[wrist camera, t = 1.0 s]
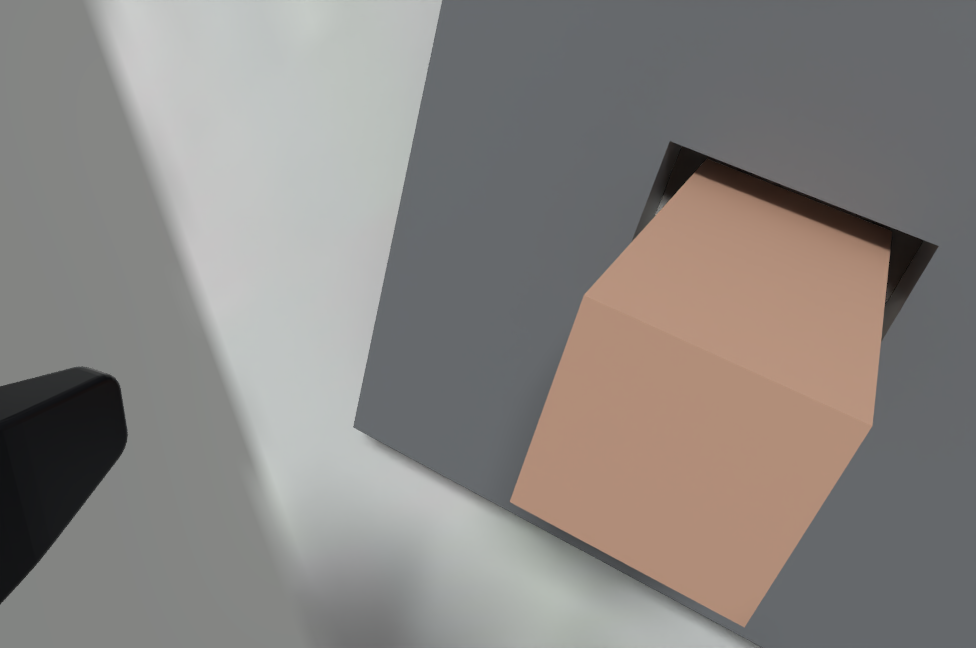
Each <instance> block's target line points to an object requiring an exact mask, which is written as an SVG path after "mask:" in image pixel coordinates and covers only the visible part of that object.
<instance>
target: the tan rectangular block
mask: <svg viewBox="0 0 976 648" xmlns="http://www.w3.org/2000/svg"><path fill="white" fill-rule="evenodd" d="M891 238H892V231H891V230H888V229H885V228H883V227H880V226H878V225H875V224H873V223H870V222H868V221H865V220H862V219H860V218H857V217H855V216H852V215H850V214H847V213H845V212H842V211H840V210H837V209H834V208H832V207H829V206H827V205H824V204H822V203H819V202H817V201H814V200H811V199H809V198H806V197H804V196H801V195H799V194H796V193H794V192H791V191H788V190H786V189H783V188H781V187H778V186H776V185H773V184H771V183H768V182H765V181H763V180H760V179H758V178H755V177H753V176H750V175H748V174H745V173H742V172H740V171H737V170H735V169H732V168H730V167H727V166H725V165H722V164H719V163H717V162H714V161H712V160H709V159H706V160H705V161H704V162H703V164H702V165H701V166H700V167H699V168H698V169H697V170H696V171H695V172H694V174H693V175H692V176H691V177H690V178H689V179H688V180H687V181H686V182H685V184H684V185H683V186H682V187H681V188H680V189H679V190H678V191H677V192H676V194H675V195H674V196H673V197H672V198H671V199H670V200H669V201H668V202H667V203H666V205H665V206H664V207H663V208H662V209H661V210H660V211H659V212H658V213H657V215H656V216H655V217H654V218H653V219H652V220H651V221H650V222H649V223H648V225H647V226H646V227H645V228H644V229H643V230H642V231H641V232H640V233H639V235H638V236H637V237H636V238H635V239H634V240H633V241H632V242H631V243H630V244H629V246H628V247H627V248H626V249H625V250H624V251H623V252H622V253H621V254H620V256H619V257H618V258H617V259H616V260H615V261H614V262H613V263H612V264H611V266H610V267H609V268H608V269H607V270H606V271H605V272H604V273H603V274H602V276H601V277H600V278H599V279H598V280H597V281H596V282H595V283H594V284H593V286H592V287H591V288H590V289H589V290H588V291H587V292H586V293H585V294H584V296H583V299H582V302H581V304H580V307H579V310H578V313H577V316H576V318H575V321H574V324H573V327H572V329H571V332H570V335H569V338H568V341H567V343H566V346H565V349H564V352H563V355H562V357H561V360H560V363H559V366H558V368H557V371H556V374H555V377H554V380H553V382H552V385H551V388H550V391H549V394H548V396H547V399H546V402H545V405H544V407H543V410H542V413H541V416H540V419H539V421H538V424H537V427H536V430H535V433H534V435H533V438H532V441H531V444H530V446H529V449H528V452H527V455H526V458H525V460H524V463H523V466H522V469H521V471H520V474H519V477H518V480H517V483H516V485H515V488H514V491H513V494H512V497H511V499H510V502H511V503H513V504H514V505H516V506H518V507H520V508H522V509H524V510H526V511H528V512H529V513H531V514H533V515H535V516H537V517H539V518H541V519H543V520H544V521H546V522H548V523H550V524H552V525H554V526H556V527H557V528H559V529H561V530H563V531H565V532H567V533H569V534H571V535H572V536H574V537H576V538H578V539H580V540H582V541H584V542H586V543H587V544H589V545H591V546H593V547H595V548H597V549H599V550H600V551H602V552H604V553H606V554H608V555H610V556H612V557H614V558H615V559H617V560H619V561H621V562H623V563H625V564H627V565H628V566H630V567H632V568H634V569H636V570H638V571H640V572H642V573H643V574H645V575H647V576H649V577H651V578H653V579H655V580H657V581H658V582H660V583H662V584H664V585H666V586H668V587H670V588H671V589H673V590H675V591H677V592H679V593H681V594H683V595H685V596H686V597H688V598H690V599H692V600H694V601H696V602H698V603H700V604H701V605H703V606H705V607H707V608H709V609H711V610H713V611H714V612H716V613H718V614H720V615H722V616H724V617H726V618H728V619H729V620H731V621H733V622H735V623H737V624H739V625H741V626H743V627H745V626H746V624H747V623H748V621H749V620H750V618H751V616H752V615H753V613H754V612H755V610H756V608H757V607H758V605H759V604H760V602H761V601H762V599H763V597H764V596H765V594H766V593H767V591H768V590H769V588H770V586H771V585H772V583H773V582H774V580H775V579H776V577H777V575H778V574H779V572H780V571H781V569H782V568H783V566H784V564H785V563H786V561H787V560H788V558H789V557H790V555H791V553H792V552H793V550H794V549H795V547H796V545H797V544H798V542H799V541H800V539H801V538H802V536H803V534H804V533H805V531H806V530H807V528H808V527H809V525H810V523H811V522H812V520H813V519H814V517H815V516H816V514H817V512H818V511H819V509H820V508H821V506H822V505H823V503H824V501H825V500H826V498H827V497H828V495H829V494H830V492H831V490H832V489H833V487H834V486H835V484H836V482H837V481H838V479H839V478H840V476H841V475H842V473H843V471H844V470H845V468H846V467H847V465H848V464H849V462H850V460H851V459H852V457H853V456H854V454H855V453H856V451H857V449H858V448H859V446H860V445H861V443H862V442H863V440H864V438H865V437H866V435H867V434H868V432H869V431H870V429H871V427H872V426H873V416H874V406H875V396H876V386H877V376H878V366H879V357H880V347H881V337H882V327H883V317H884V307H885V298H886V288H887V278H888V268H889V258H890V248H891Z"/></svg>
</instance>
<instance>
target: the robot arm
mask: <svg viewBox="0 0 976 648" xmlns="http://www.w3.org/2000/svg"><path fill="white" fill-rule="evenodd" d="M127 433H128V432H127V426H126V419H125V413H124V406H123V400H122V394H121V388H120V385H119V383H118V381H117V380H116V378H115V377H113V376H112V375H110V374H107V373H103V372H101V371H98V370H95V369H92V368H89V367H74V368H70V369H66V370H63V371H59V372H55V373H51V374H47V375H43V376H39V377H35V378H32V379H27V380H24V381H20V382H16V383H12V384H8V385H4V386H0V604H1V603H2V602H3V601H4V600H5V599H6V598H7V596H8V595H9V594H10V593H11V592H12V591H13V590H14V589H15V588H16V587H17V586H18V585H19V584H20V582H21V581H22V580H23V579H24V578H25V577H26V576H27V575H28V573H29V572H30V571H31V570H32V569H33V568H34V567H35V566H36V564H37V563H38V562H39V561H40V560H41V558H42V557H43V556H44V555H45V553H46V552H47V550H49V548H50V547H51V546H52V544H53V543H54V542H55V541H56V539H57V538H58V537H59V536H60V534H61V533H62V532H63V530H64V529H65V528H66V526H67V525H68V524H69V522H70V521H71V520H72V518H73V517H74V516H75V515H76V513H77V512H78V511H79V509H80V508H81V507H82V506H83V504H84V503H85V502H86V500H87V499H88V498H89V496H90V495H91V494H92V492H93V491H94V490H95V489H96V487H97V486H98V485H99V483H100V482H101V481H102V480H103V478H104V477H105V476H106V474H107V473H108V472H109V470H110V469H111V467H112V466H113V465H114V464H115V463H116V461H117V460H118V459H119V457H120V456H121V454H122V452H123V450H124V448H125V446H126V443H127V436H128V434H127Z"/></svg>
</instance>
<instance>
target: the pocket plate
mask: <svg viewBox="0 0 976 648" xmlns="http://www.w3.org/2000/svg"><path fill="white" fill-rule="evenodd" d="M681 146H684V147H686V148H689V149H692V150H694V151H697V152H699V153H702V154H704V155H707V156H709V157H712V158H715V159H717V160H720V161H722V162H725V163H727V164H730V165H733V166H735V167H738V168H740V169H743V170H745V171H748V172H750V173H753V174H756V175H758V176H761V177H763V178H766V179H768V180H771V181H773V182H776V183H779V184H781V185H784V186H786V187H789V188H791V189H794V190H797V191H799V192H802V193H804V194H807V195H809V196H812V197H814V198H817V199H820V200H822V201H825V202H827V203H830V204H832V205H835V206H837V207H840V208H843V209H845V210H848V211H850V212H853V213H855V214H858V215H860V216H863V217H866V218H868V219H871V220H873V221H876V222H878V223H881V224H884V225H886V226H889V227H891V228H894V229H896V230H899V231H901V232H904V233H907V234H909V235H912V236H914V237H917V238H919V239H922V240H924V241H923V243H922V244H921V246H920V248H919V249H918V251H917V253H916V254H915V256H914V258H913V260H912V261H911V263H910V265H909V266H908V268H907V270H906V271H905V273H904V275H903V277H902V278H901V280H900V282H899V283H898V285H897V287H896V288H895V290H894V292H893V294H892V295H891V297H890V299H889V300H888V302H887V304H886V306H885V307H884V317H883V327H882V337H881V347H880V357H879V366H878V376H877V386H876V396H875V406H874V416H873V426H872V427H871V429H870V431H869V432H868V434H867V435H866V437H865V438H864V440H863V442H862V443H861V445H860V446H859V448H858V449H857V451H856V453H855V454H854V456H853V457H852V459H851V460H850V462H849V464H848V465H847V467H846V468H845V470H844V471H843V473H842V475H841V476H840V478H839V479H838V481H837V482H836V484H835V486H834V487H833V489H832V490H831V492H830V494H829V495H828V497H827V498H826V500H825V501H824V503H823V505H822V506H821V508H820V509H819V511H818V512H817V514H816V516H815V517H814V519H813V520H812V522H811V523H810V525H809V527H808V528H807V530H806V531H805V533H804V534H803V536H802V538H801V539H800V541H799V542H798V544H797V545H796V547H795V549H794V550H793V552H792V553H791V555H790V557H789V558H788V560H787V561H786V563H785V564H784V566H783V568H782V569H781V571H780V572H779V574H778V575H777V577H776V579H775V580H774V582H773V583H772V585H771V586H770V588H769V590H768V591H767V593H766V594H765V596H764V597H763V599H762V601H761V602H760V604H759V605H758V607H757V608H756V610H755V612H754V613H753V615H752V616H751V618H750V620H749V621H748V623H747V624H746V626H745V627H743V626H741V625H739V624H737V623H735V622H733V621H731V620H729V619H728V618H726V617H724V616H722V615H720V614H718V613H716V612H714V611H713V610H711V609H709V608H707V607H705V606H703V605H701V604H700V603H698V602H696V601H694V600H692V599H690V598H688V597H686V596H685V595H683V594H681V593H679V592H677V591H675V590H673V589H671V588H670V587H668V586H666V585H664V584H662V583H660V582H658V581H657V580H655V579H653V578H651V577H649V576H647V575H645V574H643V573H642V572H640V571H638V570H636V569H634V568H632V567H630V566H628V565H627V564H625V563H623V562H621V561H619V560H617V559H615V558H614V557H612V556H610V555H608V554H606V553H604V552H602V551H600V550H599V549H597V548H595V547H593V546H591V545H589V544H587V543H586V542H584V541H582V540H580V539H578V538H576V537H574V536H572V535H571V534H569V533H567V532H565V531H563V530H561V529H559V528H557V527H556V526H554V525H552V524H550V523H548V522H546V521H544V520H543V519H541V518H539V517H537V516H535V515H533V514H531V513H529V512H528V511H526V510H524V509H522V508H520V507H518V506H516V505H514V504H513V503H511V502H510V499H511V497H512V494H513V491H514V488H515V485H516V483H517V480H518V477H519V474H520V471H521V469H522V466H523V463H524V460H525V458H526V455H527V452H528V449H529V446H530V444H531V441H532V438H533V435H534V433H535V430H536V427H537V424H538V421H539V419H540V416H541V413H542V410H543V407H544V405H545V402H546V399H547V396H548V394H549V391H550V388H551V385H552V382H553V380H554V377H555V374H556V371H557V368H558V366H559V363H560V360H561V357H562V355H563V352H564V349H565V346H566V343H567V341H568V338H569V335H570V332H571V329H572V327H573V324H574V321H575V318H576V316H577V313H578V310H579V307H580V304H581V302H582V299H583V296H584V294H585V293H586V292H587V291H588V290H589V289H590V288H591V287H592V286H593V284H594V283H595V282H596V281H597V280H598V279H599V278H600V277H601V276H602V274H603V273H604V272H605V271H606V270H607V269H608V268H609V267H610V266H611V264H612V263H613V262H614V261H615V260H616V259H617V258H618V257H619V256H620V254H621V253H622V252H623V251H624V250H625V249H626V248H627V247H628V246H629V244H630V243H631V242H632V241H633V240H634V239H635V238H636V237H637V236H638V235H639V233H640V232H641V231H642V230H643V229H644V228H645V227H646V226H647V225H648V223H649V222H650V221H651V220H652V219H653V218H654V216H655V213H656V211H657V208H658V205H659V203H660V200H661V198H662V195H663V193H664V190H665V187H666V185H667V182H668V180H669V177H670V175H671V172H672V169H673V167H674V164H675V162H676V159H677V157H678V154H679V151H680V149H681ZM353 427H354V428H356V429H357V430H359V431H361V432H363V433H365V434H367V435H369V436H370V437H372V438H374V439H376V440H378V441H380V442H382V443H383V444H385V445H387V446H389V447H391V448H393V449H395V450H396V451H398V452H400V453H402V454H404V455H406V456H408V457H409V458H411V459H413V460H415V461H417V462H419V463H421V464H422V465H424V466H426V467H428V468H430V469H432V470H434V471H435V472H437V473H439V474H441V475H443V476H445V477H447V478H448V479H450V480H452V481H454V482H456V483H458V484H460V485H461V486H463V487H465V488H467V489H469V490H471V491H473V492H474V493H476V494H478V495H480V496H482V497H484V498H486V499H487V500H489V501H491V502H493V503H495V504H497V505H499V506H500V507H502V508H504V509H506V510H508V511H510V512H512V513H513V514H515V515H517V516H519V517H521V518H523V519H525V520H526V521H528V522H530V523H532V524H534V525H536V526H538V527H539V528H541V529H543V530H545V531H547V532H549V533H551V534H552V535H554V536H556V537H558V538H560V539H562V540H564V541H565V542H567V543H569V544H571V545H573V546H575V547H577V548H578V549H580V550H582V551H584V552H586V553H588V554H590V555H591V556H593V557H595V558H597V559H599V560H601V561H603V562H604V563H606V564H608V565H610V566H612V567H614V568H616V569H617V570H619V571H621V572H623V573H625V574H627V575H629V576H630V577H632V578H634V579H636V580H638V581H640V582H642V583H643V584H645V585H647V586H649V587H651V588H653V589H655V590H656V591H658V592H660V593H662V594H664V595H666V596H668V597H669V598H671V599H673V600H675V601H677V602H679V603H681V604H682V605H684V606H686V607H688V608H690V609H692V610H694V611H695V612H697V613H699V614H701V615H703V616H705V617H707V618H708V619H710V620H712V621H714V622H716V623H718V624H720V625H721V626H723V627H725V628H727V629H729V630H731V631H733V632H734V633H736V634H738V635H740V636H742V637H744V638H746V639H747V640H749V641H751V642H753V643H755V644H757V645H759V646H760V647H762V648H976V0H442V5H441V10H440V14H439V19H438V24H437V29H436V34H435V38H434V43H433V48H432V53H431V58H430V62H429V67H428V72H427V77H426V81H425V86H424V91H423V96H422V101H421V105H420V110H419V115H418V120H417V125H416V129H415V134H414V139H413V144H412V149H411V153H410V158H409V163H408V168H407V172H406V177H405V182H404V187H403V192H402V196H401V201H400V206H399V211H398V216H397V220H396V225H395V230H394V235H393V239H392V244H391V249H390V254H389V259H388V263H387V268H386V273H385V278H384V283H383V287H382V292H381V297H380V302H379V307H378V311H377V316H376V321H375V326H374V330H373V335H372V340H371V345H370V350H369V354H368V359H367V364H366V369H365V374H364V378H363V383H362V388H361V393H360V398H359V402H358V407H357V412H356V417H355V421H354V426H353Z"/></svg>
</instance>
